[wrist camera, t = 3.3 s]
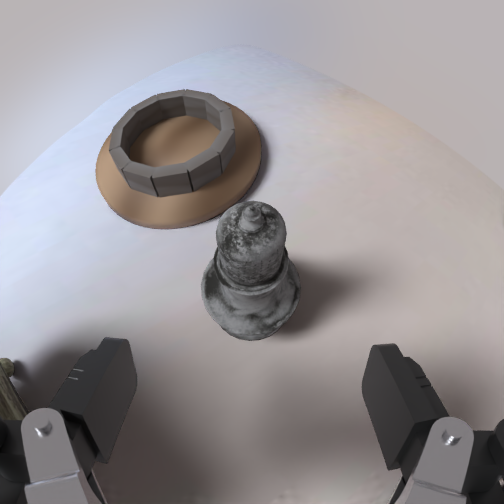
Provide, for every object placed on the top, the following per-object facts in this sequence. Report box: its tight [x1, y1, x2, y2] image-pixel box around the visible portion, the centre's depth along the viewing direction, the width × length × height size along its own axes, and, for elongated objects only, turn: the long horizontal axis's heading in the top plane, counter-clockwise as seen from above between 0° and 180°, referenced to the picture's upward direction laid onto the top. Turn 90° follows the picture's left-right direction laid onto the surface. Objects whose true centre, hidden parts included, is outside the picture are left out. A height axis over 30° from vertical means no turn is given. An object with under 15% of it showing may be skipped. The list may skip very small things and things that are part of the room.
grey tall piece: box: [201, 201, 301, 341], centre depth 17 cm, size 6×6×12 cm
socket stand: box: [96, 89, 261, 229], centre depth 26 cm, size 15×15×4 cm
